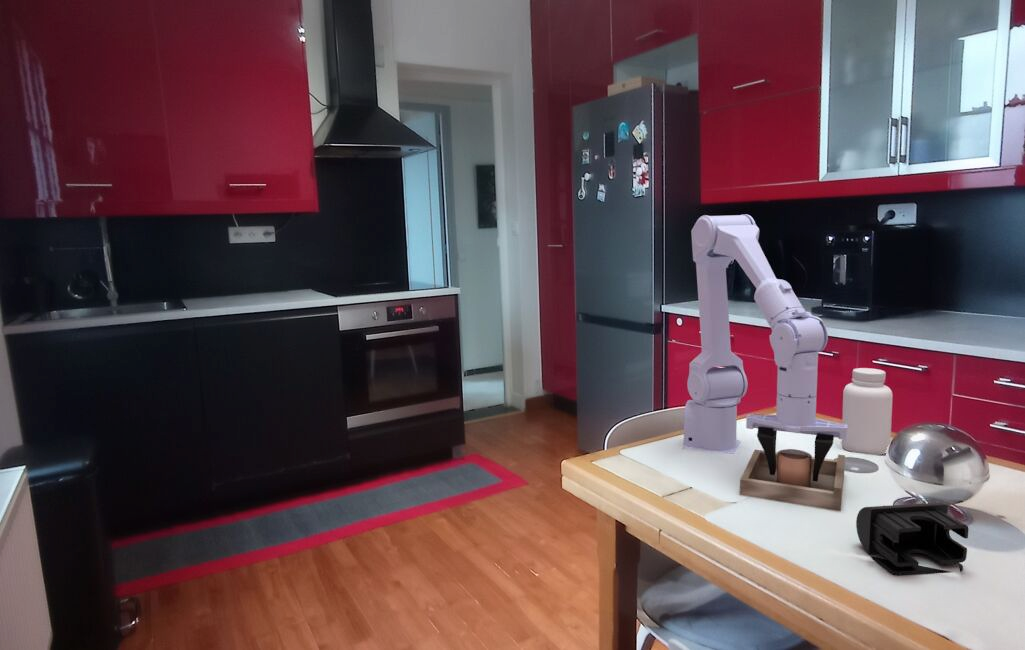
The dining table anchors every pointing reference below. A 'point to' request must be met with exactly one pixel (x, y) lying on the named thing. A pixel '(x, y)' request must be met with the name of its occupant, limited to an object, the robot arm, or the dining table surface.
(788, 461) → the pot
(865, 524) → the end cap
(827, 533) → the dining table surface
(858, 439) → the pill bottle
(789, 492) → the wooden tray
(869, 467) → the saucer
